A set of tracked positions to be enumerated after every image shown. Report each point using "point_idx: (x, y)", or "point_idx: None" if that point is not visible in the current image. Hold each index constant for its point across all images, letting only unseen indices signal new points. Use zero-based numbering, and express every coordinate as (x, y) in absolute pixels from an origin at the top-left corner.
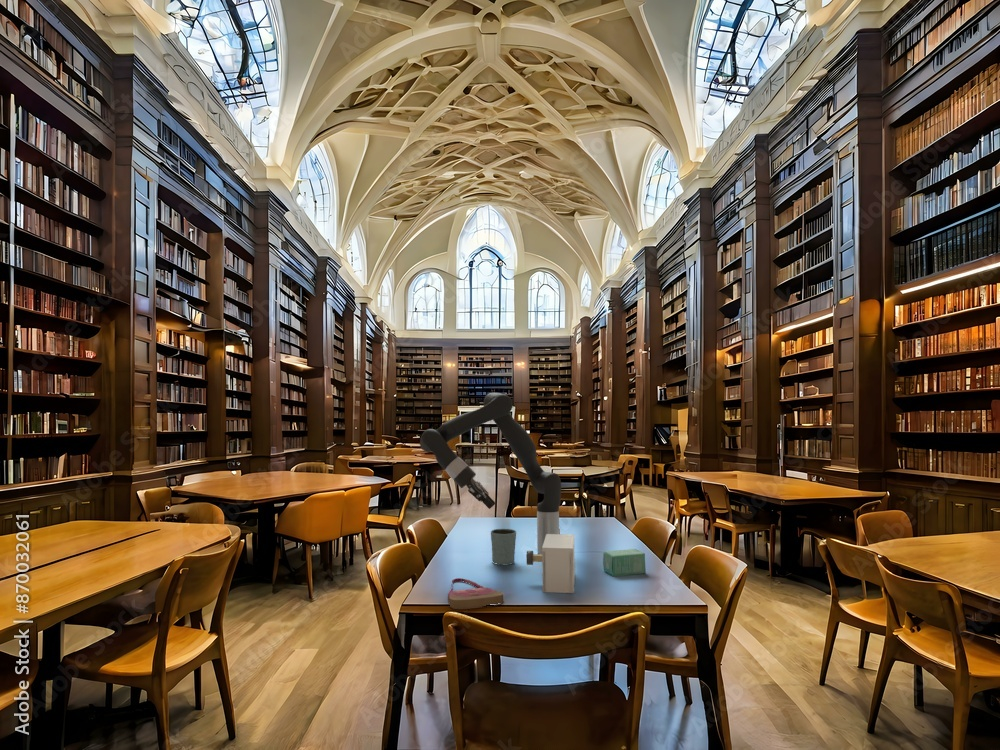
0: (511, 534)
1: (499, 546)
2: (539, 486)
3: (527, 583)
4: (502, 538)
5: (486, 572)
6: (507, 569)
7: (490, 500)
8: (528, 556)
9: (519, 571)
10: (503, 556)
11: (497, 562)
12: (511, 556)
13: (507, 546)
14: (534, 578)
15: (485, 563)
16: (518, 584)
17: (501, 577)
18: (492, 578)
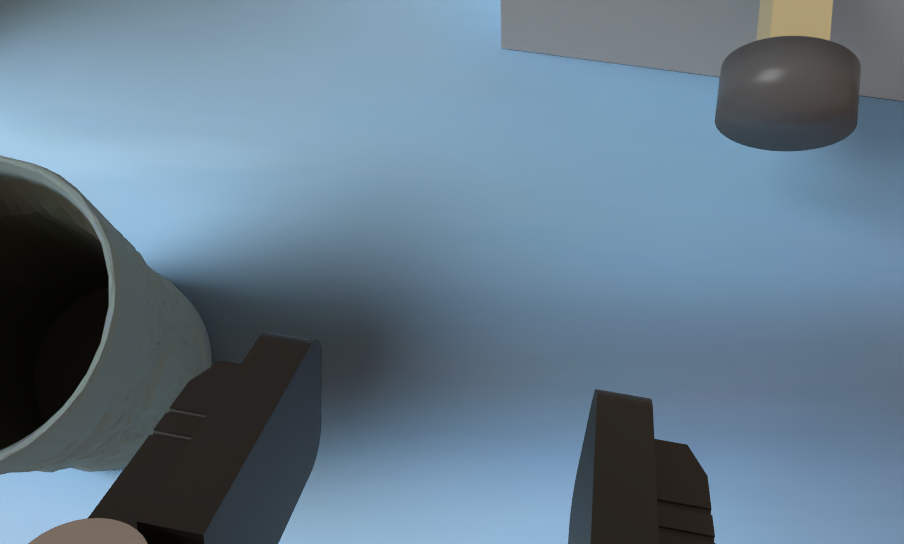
0: (101, 216)
1: (145, 385)
2: None
3: (776, 204)
4: (132, 335)
5: (445, 533)
6: (359, 342)
7: (262, 468)
8: (858, 101)
9: (429, 246)
10: (189, 359)
11: None
12: (173, 285)
13: (161, 299)
14: (636, 145)
15: None
16: (808, 273)
17: None
18: None
